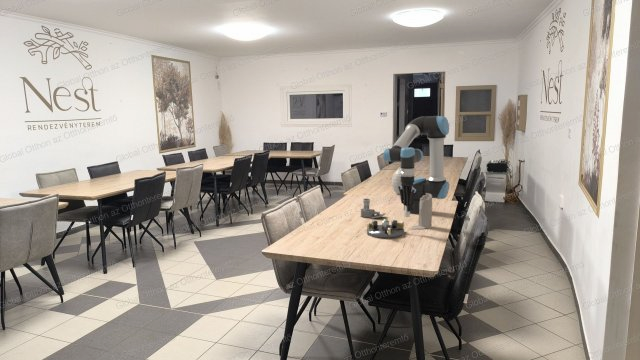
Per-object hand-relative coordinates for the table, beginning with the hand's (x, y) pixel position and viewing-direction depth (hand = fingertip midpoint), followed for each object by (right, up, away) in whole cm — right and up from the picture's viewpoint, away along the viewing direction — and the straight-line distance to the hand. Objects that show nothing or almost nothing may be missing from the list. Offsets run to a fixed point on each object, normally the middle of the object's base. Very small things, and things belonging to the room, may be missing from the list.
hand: (407, 216), depth 238 cm
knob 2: (-12, -9, -8) cm, 17 cm away
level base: (-12, -10, +1) cm, 15 cm away
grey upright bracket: (+10, -8, +11) cm, 17 cm away
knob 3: (-5, -7, +2) cm, 9 cm away
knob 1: (-20, -7, +2) cm, 21 cm away
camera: (-15, -4, +36) cm, 40 cm away
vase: (+18, +9, +110) cm, 112 cm away
